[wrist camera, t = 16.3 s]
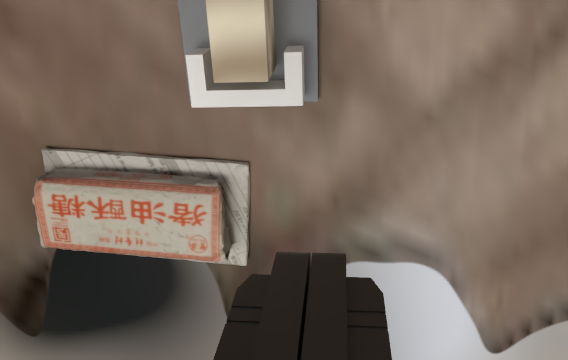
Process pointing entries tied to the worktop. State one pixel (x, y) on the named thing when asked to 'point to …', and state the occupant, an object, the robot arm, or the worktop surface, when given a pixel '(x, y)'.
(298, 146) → the worktop surface
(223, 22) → the slat
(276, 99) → the board
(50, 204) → the packaged product
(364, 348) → the robot arm
